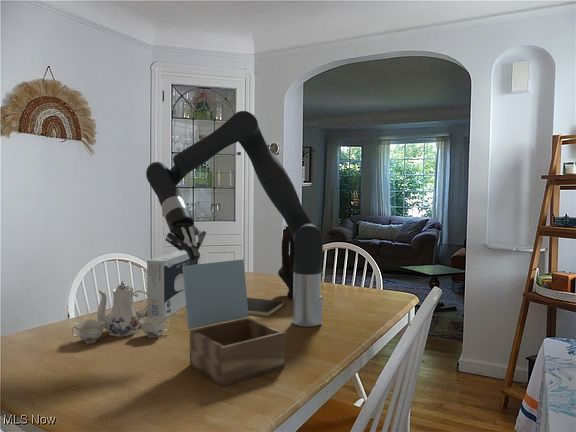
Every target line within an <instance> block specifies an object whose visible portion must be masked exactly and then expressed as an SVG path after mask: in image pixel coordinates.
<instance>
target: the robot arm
mask: <svg viewBox="0 0 576 432" xmlns="http://www.w3.org/2000/svg"><path fill="white" fill-rule="evenodd" d="M236 143H239V144H240V146H241V147H242V149H243V151H244V152H245V153H246V155H247V156H248V159H250V162H251V165H252V167H253V169H254V172H255V175H256V177H257V179H258V181H259V183H260V185H261V187H262V188H263V190H264V192H265V194H266V195H267V197H268V199H269V200H270V202H271V203H272V204H273V206H274V207H275V208H276V209H277V211H278V212H279V214H280V215H281V216H282V218H283V219H284V221H285V223H286V225H287V226H288V227H289V230H290V232H291V234H292V237H293V239H294V242H295V250H294V274H293V298H292V323H293V324H294V326H299V327H315V326H320V325H322V324H323V295H322V293H321V292H322V290H321V289H322V277H321V271H322V265H323V257H324V256H323V254H324V251H323V250H324V239H323V238H324V237H323V234H322V233H323V232H321V230H320V229H319V227H317V226H316V225H315V224H314V222H312V220H311V218H310V217H309V215H308V214H307V213H306V211H305V209H304V207H303V205H302V204H301V201H300V198H299V194H298V193H297V190H296V188H295V186H294V184H293V182H292V179H291V178H290V176H289V175H288V172H287V171H286V169H285V168H284V167H283V164H282V163H281V162H280V160H279V159H278V158H277V156H276V155H275V154H274V153H273V152H272V150H271V149H270V148H269V146H268V144H267V142H266V140H265V138H264V135H263V133H262V131H261V129H260V126H259V122H258V119H257V117H256V116H255V115H254V113H252V112H250V111H247V110H240V111H237V112H235V113H234V114H233V115H232V116H231V117H230V118H229V119H227V120H226V121H225V122H224V123H223V124H222V125H220V127H218V128H217V129H216V130H214V131H213V132H211V133H210V134H208V135H207V136H205V137H203V138H202V139H199V140H198V141H196V142H195V143H193V144H191V145H189V146H188V147H186V148H184V149H183V150H181V151H180V152H178V153H177V154H175V155H174V156H173V157H172V162H173V166H172V167H171V168H170V169H169V167H168V166H166V164H165V163H163V162H160V161H154V162H151V163H150V164H149V165H148V166H147V168H146V173H145V174H146V175H145V176H146V179H147V182H148V183H149V185H150V187H151V188H152V190H153V192H154V193H155V195H156V196H157V198H158V202H159V204H160V207H161V211H162V214H163V217H164V219H165V221H166V224H167V226H168V229H169V232H168V233H167V235H166V237H165V239H164V240H165V242H167V243H169V244H170V245H172V246H173V247H174V248H176V249H177V250H178V251H182V250H185V251H186V252H187V253H188V256H189V258H190V259H191V260H192V261H198V262H199V259H200V257H201V253H200V251H199V249H200V248H201V246H202V244H203V242H204V239H205V237H206V235H207V232H206V231H205V230H202V231H200V230H199V228H198V227H197V226H196V225H195V223H194V221H195V220H194V218H193V217H192V214H191V212H190V210H189V207H188V205H187V202H186V201H185V200H184V198H183V196H182V193H181V191H180V190H179V188H178V187H177V185H179V183H181V181H183V180H184V179H185V177H186V176H187V175H188V174H189V173H192V172H193V171H195V170H196V169H198V168H200V167H201V166H202V165H204V164H205V163H206V162H208V161H209V160H210V159H212V158H213V157H215V156H216V155H218V153H220V152H221V151H223V150H224V149H226V148H227V147H229V146H231V145H233V144H236ZM196 237H197V238H196ZM196 239H197V241H196Z"/></svg>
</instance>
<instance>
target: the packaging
mask: <svg viewBox="0 0 576 432" xmlns="http://www.w3.org/2000/svg"><path fill="white" fill-rule="evenodd" d="M196 264H199V260H198V261H192V260H191V259H190V258H189V256H188V253H187V252H186V251H185V250H182V251H180V250H176V251H173V252H169V253H168V254H163V255H161V256H157V257H155V258H150V259H148V260H146V287H147V288H146V292H147V293H148V294H149V295H150V298H151V303H150V305H149V307H148V308H147V309H146V310H147V311H146V313H147V315H146V317H150V318H151V317H152V316H155V315H160V316H162V317H163V318H164V317H170V316H172V315H174V314H175V313H176V312H179V311H180V310H181V309H184V308H185V307H186V298H185V286H184V274H183V266H187V265H196ZM146 296H147V295H146ZM146 302H147V303H146V306H147V305H148V303H149V298H148V296H147V297H146Z"/></svg>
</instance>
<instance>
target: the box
mask: <svg viewBox="0 0 576 432" xmlns="http://www.w3.org/2000/svg"><path fill="white" fill-rule="evenodd" d="M285 333H286V332H284V331H282V330H279V329H276V328H275V327H271V326H269V325H268V324H264V323H262V322H259V321H257V320H254V319H252V318H249V317H246V318H241V319H236V320H231V321H227V322H222V323H217V324H212V325H207V326H202V327H197V328H193V329H189V365H190V367H192V368H193V369H195V370H197V371H198V372H200V373H202V374H203V375H205V376H206V377H207V378H209V379H210V380H211V381H212V382H215V383H216V384H217V385H219V386H220V387H227V386H230V385H233V384H235V383H236V384H237V383H239V382H240V383H241V382H242V381H243V382H244V381H247V380H249V379H253V378H256V377H259V376H262V375H265V374H268V373H272V372H275V371H278V370H282V369H284V368H285V345H286V344H285V341H286V340H285V339H286V334H285Z"/></svg>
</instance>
